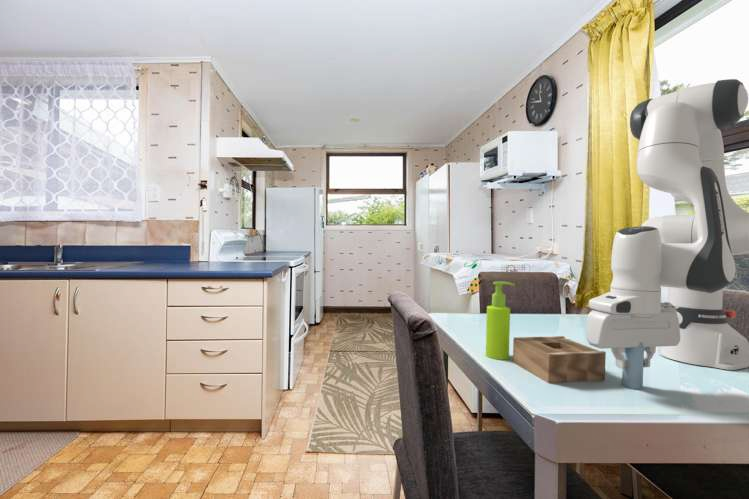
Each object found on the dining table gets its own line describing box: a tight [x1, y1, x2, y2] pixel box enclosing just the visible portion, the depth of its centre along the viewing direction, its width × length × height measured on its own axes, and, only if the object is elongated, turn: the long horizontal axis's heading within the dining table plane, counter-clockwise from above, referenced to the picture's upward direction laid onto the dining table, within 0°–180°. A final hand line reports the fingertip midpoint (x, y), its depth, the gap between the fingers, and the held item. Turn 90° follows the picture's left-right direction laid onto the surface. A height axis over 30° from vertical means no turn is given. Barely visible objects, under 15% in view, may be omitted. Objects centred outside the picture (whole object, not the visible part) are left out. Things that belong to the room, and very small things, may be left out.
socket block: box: [512, 335, 607, 384], centre depth 87 cm, size 14×14×6 cm
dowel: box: [621, 342, 644, 391], centre depth 78 cm, size 4×4×10 cm
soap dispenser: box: [485, 280, 516, 361], centre depth 97 cm, size 6×7×20 cm
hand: (632, 367), depth 78 cm, fingers open, 4 cm apart
